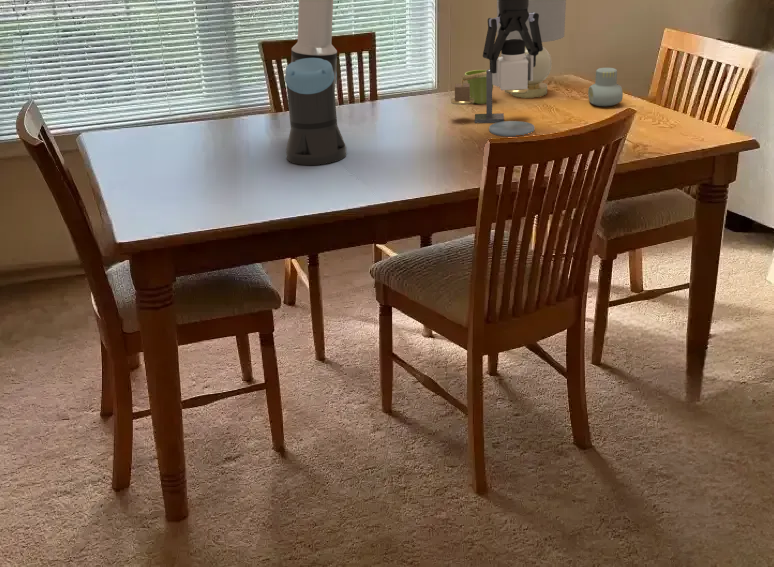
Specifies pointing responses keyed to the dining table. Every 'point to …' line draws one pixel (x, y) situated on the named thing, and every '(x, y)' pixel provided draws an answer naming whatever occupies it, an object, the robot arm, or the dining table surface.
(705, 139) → the dining table surface
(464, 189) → the dining table surface
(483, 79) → the plant pot
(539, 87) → the lamp
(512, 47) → the medicine bottle
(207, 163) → the dining table surface
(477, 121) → the balance scale
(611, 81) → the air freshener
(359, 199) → the dining table surface
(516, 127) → the dish
